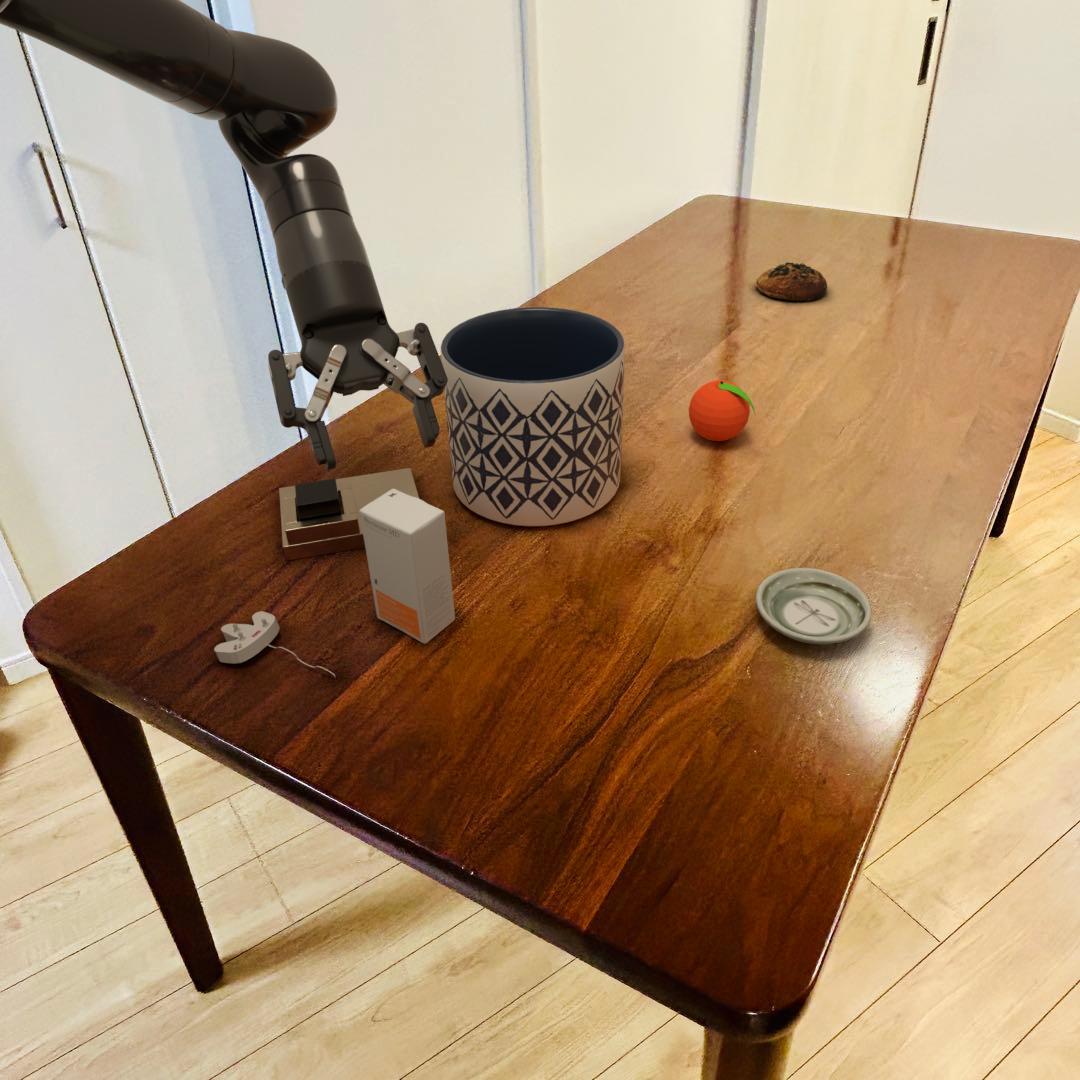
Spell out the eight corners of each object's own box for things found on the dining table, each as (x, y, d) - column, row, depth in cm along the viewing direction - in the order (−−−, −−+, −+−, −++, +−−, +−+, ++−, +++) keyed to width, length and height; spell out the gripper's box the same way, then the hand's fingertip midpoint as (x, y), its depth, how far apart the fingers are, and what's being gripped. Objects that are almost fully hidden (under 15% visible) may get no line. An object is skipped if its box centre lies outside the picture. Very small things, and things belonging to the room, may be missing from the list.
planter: (503, 551, 88) (495, 400, 79) (425, 469, 101) (409, 331, 91) (653, 496, 96) (662, 352, 86) (563, 426, 108) (562, 294, 99)
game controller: (235, 621, 81) (229, 598, 79) (358, 634, 79) (354, 612, 78) (206, 665, 76) (198, 642, 75) (335, 680, 75) (331, 657, 73)
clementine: (765, 437, 105) (773, 381, 101) (735, 461, 101) (742, 404, 97) (705, 417, 109) (711, 363, 105) (674, 440, 105) (679, 384, 101)
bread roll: (815, 306, 136) (816, 273, 133) (745, 303, 142) (744, 271, 139) (837, 286, 144) (838, 254, 141) (769, 284, 149) (769, 253, 147)
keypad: (286, 561, 88) (279, 531, 86) (282, 501, 96) (275, 473, 94) (428, 536, 91) (424, 507, 89) (412, 480, 99) (408, 453, 97)
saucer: (731, 627, 79) (734, 606, 77) (786, 574, 84) (789, 553, 83) (835, 678, 73) (840, 656, 72) (885, 617, 79) (891, 596, 78)
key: (300, 523, 88) (296, 505, 86) (298, 501, 91) (294, 484, 90) (341, 516, 88) (338, 498, 87) (338, 494, 92) (335, 477, 90)
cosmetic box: (375, 620, 80) (356, 509, 73) (408, 595, 83) (393, 485, 76) (425, 647, 77) (410, 534, 70) (458, 620, 80) (446, 509, 73)
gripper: (242, 272, 72) (298, 463, 70) (414, 244, 76) (470, 423, 74) (246, 312, 79) (296, 487, 77) (403, 285, 83) (454, 450, 81)
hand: (382, 455), depth 76 cm, fingers open, 8 cm apart
